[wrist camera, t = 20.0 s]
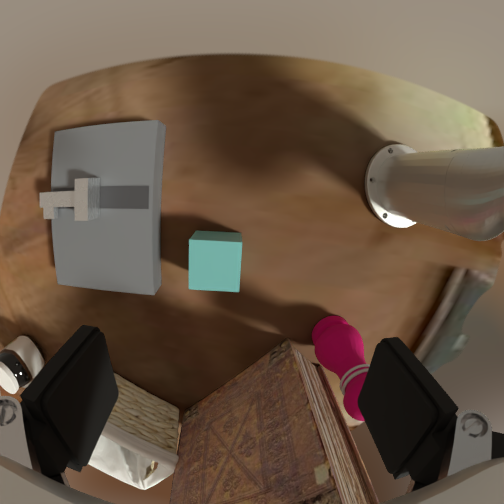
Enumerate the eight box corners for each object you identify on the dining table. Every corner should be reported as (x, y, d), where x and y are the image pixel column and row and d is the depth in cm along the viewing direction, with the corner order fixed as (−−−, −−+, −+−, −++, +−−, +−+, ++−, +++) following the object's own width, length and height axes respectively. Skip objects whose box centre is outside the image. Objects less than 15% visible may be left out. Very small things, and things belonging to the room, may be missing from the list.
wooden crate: (289, 335, 41) (349, 515, 12) (322, 365, 43) (387, 516, 14) (183, 410, 44) (163, 551, 15) (219, 432, 46) (217, 562, 17)
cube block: (241, 232, 37) (242, 242, 31) (238, 275, 38) (239, 291, 32) (196, 230, 36) (189, 239, 31) (195, 272, 38) (188, 289, 32)
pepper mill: (299, 335, 41) (337, 432, 22) (332, 303, 40) (395, 387, 21) (326, 357, 43) (370, 447, 23) (358, 328, 42) (419, 408, 22)
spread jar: (34, 329, 39) (2, 360, 28) (63, 376, 42) (38, 411, 30) (8, 337, 39) (-21, 364, 28) (33, 379, 42) (10, 408, 31)
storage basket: (190, 408, 44) (181, 470, 30) (156, 441, 47) (145, 493, 33) (79, 341, 40) (39, 390, 25) (63, 386, 42) (33, 430, 28)
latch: (100, 177, 30) (88, 178, 26) (99, 217, 31) (87, 221, 28) (46, 181, 29) (32, 182, 26) (46, 217, 30) (33, 221, 27)
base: (166, 126, 32) (158, 119, 29) (161, 284, 38) (153, 295, 34) (69, 134, 31) (54, 131, 27) (70, 275, 37) (57, 284, 33)
